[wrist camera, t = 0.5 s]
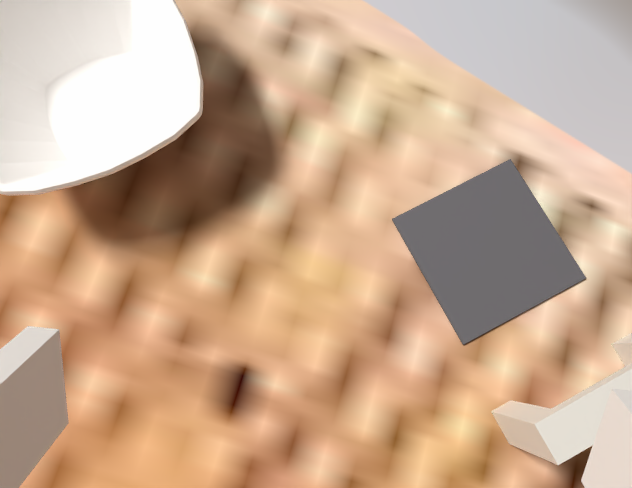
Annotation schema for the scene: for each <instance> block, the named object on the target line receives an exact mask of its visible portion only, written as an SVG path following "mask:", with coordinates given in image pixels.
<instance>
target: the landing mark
mask: <svg viewBox="0 0 632 488" xmlns="http://www.w3.org/2000/svg"><path fill="white" fill-rule="evenodd" d="M392 221H393V222H394V224H395V226H396V228H397V230H398V231H399V233H400V235H401V237H402V238H403V240H404V242H405V244H406V245H407V247H408V249H409V251H410V252H411V254H412V256H413V258H414V259H415V261H416V263H417V265H418V267H419V268H420V270H421V272H422V274H423V275H424V277H425V279H426V281H427V282H428V284H429V286H430V288H431V289H432V291H433V293H434V295H435V296H436V298H437V300H438V302H439V304H440V305H441V307H442V309H443V311H444V312H445V314H446V316H447V318H448V319H449V321H450V323H451V325H452V326H453V328H454V330H455V332H456V333H457V335H458V337H459V339H460V340H461V342H462V344H463V345H464V344H466V343H467V342H469V341H471V340H473V339H475V338H477V337H479V336H480V335H482V334H484V333H486V332H488V331H490V330H491V329H493V328H495V327H497V326H499V325H501V324H502V323H504V322H506V321H508V320H510V319H512V318H514V317H515V316H517V315H519V314H521V313H523V312H525V311H526V310H528V309H530V308H532V307H534V306H536V305H537V304H539V303H541V302H543V301H545V300H547V299H549V298H550V297H552V296H554V295H556V294H558V293H560V292H561V291H563V290H565V289H567V288H569V287H571V286H573V285H574V284H576V283H578V282H580V281H582V280H584V279H585V278H586V277H585V276H584V274H583V272H582V271H581V269H580V268H579V266H578V265H577V263H576V261H575V260H574V258H573V257H572V255H571V254H570V252H569V250H568V249H567V247H566V246H565V244H564V243H563V241H562V239H561V238H560V236H559V235H558V233H557V232H556V230H555V228H554V227H553V225H552V224H551V222H550V221H549V219H548V217H547V216H546V214H545V213H544V211H543V210H542V208H541V206H540V205H539V203H538V202H537V200H536V199H535V197H534V195H533V194H532V192H531V191H530V189H529V188H528V186H527V184H526V183H525V181H524V180H523V178H522V177H521V175H520V173H519V172H518V170H517V169H516V167H515V166H514V164H513V162H512V161H511V159H510V160H508V161H506V162H504V163H502V164H500V165H498V166H496V167H494V168H492V169H490V170H488V171H486V172H484V173H482V174H480V175H478V176H476V177H474V178H472V179H470V180H468V181H466V182H464V183H462V184H460V185H458V186H456V187H454V188H452V189H450V190H448V191H446V192H444V193H442V194H441V195H439V196H437V197H435V198H433V199H431V200H429V201H427V202H425V203H423V204H421V205H419V206H417V207H415V208H413V209H411V210H409V211H407V212H405V213H403V214H401V215H399V216H397V217H395V218H393V219H392Z"/></svg>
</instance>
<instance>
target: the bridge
mask: <svg viewBox="0 0 632 488" xmlns="http://www.w3.org/2000/svg"><path fill="white" fill-rule="evenodd" d="M611 345H612V346H613V348H614V350H615V351H616V353H617V354H618V356H619V358H620V359H621V361H622V362H623V364H624V366H625V367H624V368H622V369H620V370H619V371H617V372H615V373H613V374H612V375H610V376H608V377H606V378H604V379H603V380H601V381H599V382H597V383H596V384H594V385H592V386H590V387H589V388H587V389H585V390H583V391H582V392H580V393H578V394H576V395H575V396H573V397H571V398H569V399H568V400H566V401H564V402H562V403H560V404H559V405H557V406H555V407H553V408H552V409H550V408H545V407H540V406H535V405H531V404H526V403H521V402H516V401H511V400H510V401H509V402H507V403H505V404H503V405H501V406H500V407H498V408H496V409H494V410H493V411H491V412H492V414H493V416H494V418H495V419H496V421H497V423H498V425H499V426H500V428H501V430H502V432H503V434H504V435H505V437H506V439H507V441H508V442H509V444H511V445H513V446H515V447H517V448H520V449H522V450H524V451H527V452H529V453H531V454H534V455H536V456H538V457H540V458H543V459H545V460H547V461H550V462H552V463H554V464H556V465H560V464H561V463H563V462H565V461H566V460H568V459H570V458H572V457H573V456H575V455H577V454H578V453H580V452H582V451H584V450H585V449H587V448H589V447H591V446H592V445H593V443H594V440H595V437H596V434H597V431H598V428H599V425H600V422H601V419H602V416H603V413H604V410H605V407H606V404H607V401H608V398H609V395H610V392H611V389H621V390H631V391H632V333H631V334H628V335H626V336H625V337H623V338H621V339H619V340H617V341H616V342H614V343H612V344H611Z"/></svg>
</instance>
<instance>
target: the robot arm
mask: <svg viewBox="0 0 632 488" xmlns="http://www.w3.org/2000/svg"><path fill="white" fill-rule="evenodd" d="M67 424H68V413H67V403H66V393H65V383H64V373H63V363H62V353H61V343H60V333H59V329H50V328H41V327H31V326H28V327H26V328H25V329H24V330H23V331H22V332H20V333H19V334H18V335H17V336H16V337H14V338H13V339H12V340H11V341H10V342H8V343H7V344H6V345H5V346H4V347H2V348H1V349H0V488H19V487H20V485H21V484H22V483H23V481H24V480H25V479H26V478H27V476H28V475H29V474H30V472H31V471H32V470H33V469H34V467H35V466H36V465H37V463H38V462H39V461H40V459H41V458H42V457H43V456H44V454H45V453H46V452H47V450H48V449H49V448H50V446H51V445H52V444H53V443H54V441H55V440H56V439H57V437H58V436H59V435H60V433H61V432H62V431H63V430H64V428H65V427H66V426H67ZM581 482H582V483H583V485H584V487H585V488H632V391H631V390H621V389H611V392H610V395H609V398H608V401H607V404H606V407H605V410H604V413H603V416H602V419H601V422H600V425H599V428H598V431H597V434H596V437H595V440H594V443H593V446H592V449H591V452H590V455H589V458H588V461H587V464H586V467H585V470H584V473H583V476H582V479H581Z"/></svg>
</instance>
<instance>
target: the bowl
mask: <svg viewBox="0 0 632 488" xmlns="http://www.w3.org/2000/svg"><path fill="white" fill-rule="evenodd" d="M202 111H203V79H202V74H201V70H200V65H199V60H198V56H197V53H196V50H195V47H194V44H193V41H192V38H191V35H190V32H189V29H188V26H187V23H186V21H185V19H184V17H183V15H182V14H181V12H180V10H179V8H178V6H177V4H176V3H175V1H174V0H0V194H3V195H39V194H43V193H48V192H52V191H56V190H60V189H65V188H69V187H73V186H77V185H80V184H83V183H86V182H90V181H93V180H96V179H99V178H102V177H105V176H108V175H111V174H113V173H115V172H117V171H119V170H121V169H124V168H126V167H128V166H130V165H132V164H134V163H136V162H138V161H140V160H142V159H144V158H146V157H147V156H149V155H151V154H153V153H154V152H156V151H158V150H159V149H161V148H163V147H164V146H166V145H168V144H169V143H171V142H173V141H174V140H176V139H177V138H178V137H180V136H181V135H182V134H183V133H184V132H185V131H186V130H187V129H188V128H189V127H190V126H192V125H193V124H194V123H195V122H196V121H197V120H198V119H199V118H200V116H201V115H202Z"/></svg>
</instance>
